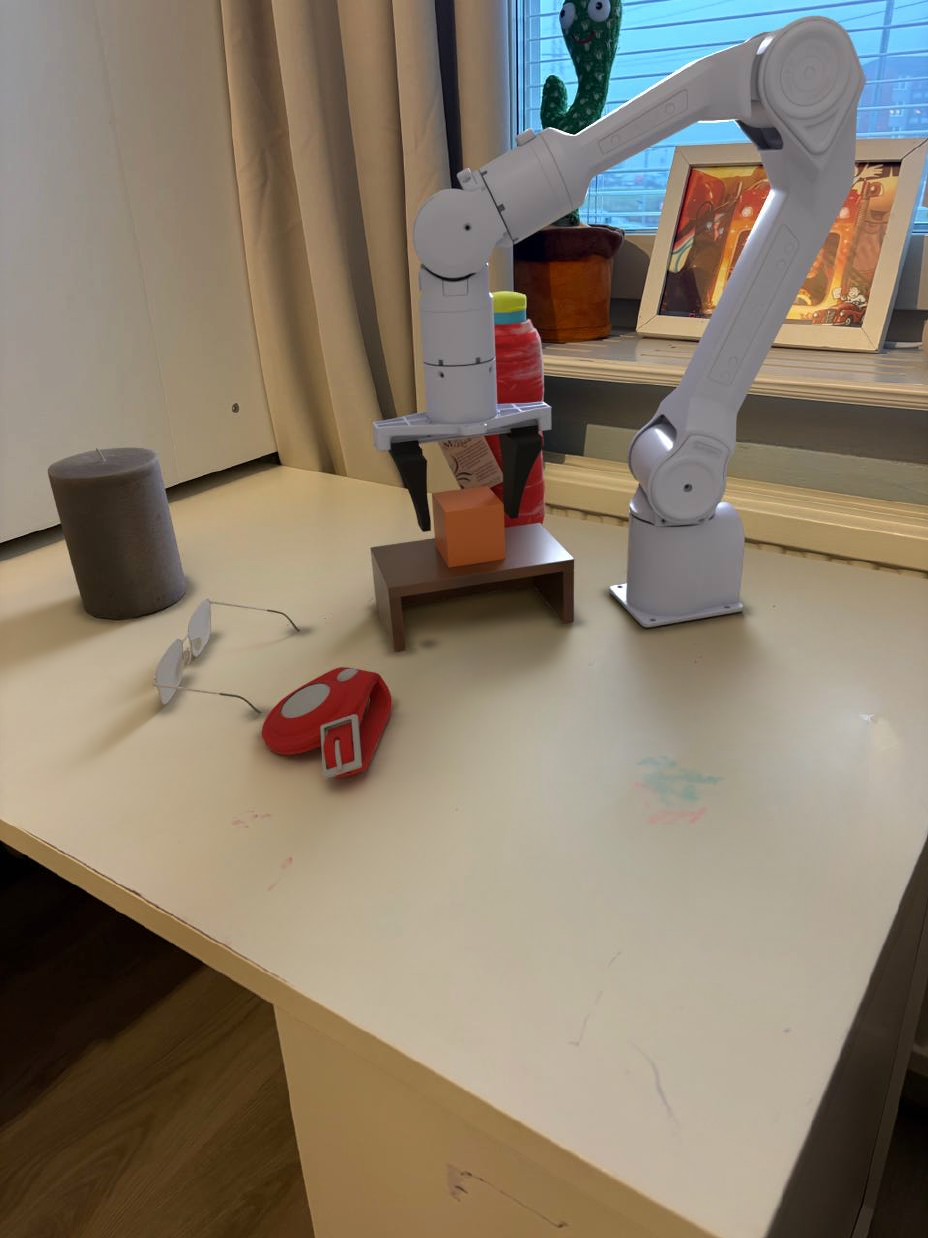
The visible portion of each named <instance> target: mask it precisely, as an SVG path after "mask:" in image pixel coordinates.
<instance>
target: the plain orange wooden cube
mask: <svg viewBox="0 0 928 1238" xmlns="http://www.w3.org/2000/svg"><path fill="white" fill-rule="evenodd" d="M431 503H432V504H431V505H432V517H433V531H434V533H433V535H434V538H435V546H436V548H437V550H438V551H439V553H440V555H441V556H442V558H443V559H444V561H445V563H446V564H447V566H448V568H451V567H458V566H464V565H471V564H477V563H484V562H491V561H497V560H504V559H505V534H504V504H503V503H502V502H501V501H500V500H499V499H498V497H497V496H496V495H495V494H494V493H493V492H492V491H491V490H490V488H489V487H488V486H481V487H474V488H466V489H453V490H444V491H437V492H436V491H435V492H431Z"/></svg>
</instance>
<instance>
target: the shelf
mask: <svg viewBox="0 0 928 1238" xmlns="http://www.w3.org/2000/svg"><path fill="white" fill-rule="evenodd" d="M504 534H505V559H504V560H497V561H491V562H484V563H477V564H471V565H464V566H458V567H451V568H448V566H447V564H446V563H445V561H444V559H443V558H442V556H441V555H440V553H439V551H438V550H437V548H436V546H435V537H434V538H433V537H432V538H426V539H419V540H411V541H405V542H397V543H391V544H385V545H384V544H383V545H377V546H371V547H370V550H369V551H370V558H371V569H372V576H373V577H372V578H373V585H374V586H373V587H374V595H375V604H376V609H377V612H378V615H379V617H380V619H381V622H382V624H383V627H384V629H385V633H386V634H387V637H388V640H389V642H390V644H391V647H392V650H393V652H394V653H398V652H404V651H406V650H407V646H406V638H405V626H404V625H405V624H404V616H403V615H404V614H403V607H408V606H414V605H420V604H421V605H422V604H426V603H434V602H439V601H445V600H446V601H447V600H452V599H459V598H466V597H471V596H477V595H484V594H489V593H490V594H491V593H496V592H503V591H510V590H514V589H515V590H516V589H521V588H526V587H527V588H528V587H534V588H535V589H536V591H537V592H538V593H539V595H540V596H541V597H542V598H543V599H544V601H545V602H546V603H547V604H548V606H549V607H550V608H551V610H552V612H554V613H555V614H556V616H557V617H558V618H559V620H560V621H561V623H563V624H567V623H568V624H569V623H573V622H574V621H575V618H574V617H575V558H574V557H573V556H572V555H571V554H570V553H569V552H568V551H567V550H566V548H565V547H564V546H562V544H561V543H560V542H559V541H558V540H557V539H556V538H555V537H554V536H553V535H552V534H551V533H550V532H549V531H548V529H546V528H545V526H544V525H543V524H542V525H541V523H536V524H529V525H522V526H515V527H508V528H504Z"/></svg>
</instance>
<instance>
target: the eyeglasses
mask: <svg viewBox="0 0 928 1238" xmlns="http://www.w3.org/2000/svg"><path fill="white" fill-rule="evenodd" d="M211 605H221V606H229V607H236V608H243V609H250V610H258V611H265V612H268V613H275V614H280V615H282V616H284V617H285V619H287V620H288V621H289V623H290V624H291V626H292V627H293V628H294V630H295V631H296V632H297V633H299V632H301V630H300V628H298V626H297V625H296V624H295V623H294V621H293V620H292V619H291V618H290V617H289V615H287V614H286V613H284V612H282V611H278V610H273V609H265V608H259V607H253V606H245V605H240V604H234V603H229V602H221V601H213V600H210V599H209V598H205V599H204V600H203V601H202V602H201V603H200V604H199V605H198V606H197V608H196V609H195V610H194V612H193V614H192V615H191V616H190V619H189V622H188V626H187V634H186V635H185V636H184V638H183V639H181V638H177V639H175V640H174V641H173V642H172V643H171V644H170V645H169V646H168V648H167V649H166V651H165V652H164V654H163V655H162V657H161V659H160V661H159V662H158V664H157V666H156V670H155V678H154V679H153V680H152V685H153V687H156V689H157V692H158V696H159V700H160V702H161V704H162V705H167V704H168V703H169V702H170V700H171V699H172V698H173V696H174V695H175V693H176V691H177V690H180V691H186V692H195V693H203V694H211V695H217V696H223V697H224V696H225V697H229V698H231V697H232V698H237V699H240V700H242V701H244V702H245V703H246V704H247V705H248V706H249V707H250V708H252V710H254V711H255V712H256V714H259V715H260V714H262V712H261V711H260V710H258V708H256V707H255V705H253V704H252V703H251V702H250V701H249V700H247V698H245V697H243V696H241V695H237V694H232V693H224V692H215V691H208V690H202V689H197V688H189V687H183V686H180V684H181V681H182V678H183V674H184V660H185V658H186V665H187V666H189V665H191V661H192V655H193V656H194V657H195V658H196V657H198V656H199V655H201V653H202V652H203V651H204V649H205V647H206V645H207V644H208V641H209V640H210V637H211V632H212V609H211ZM187 638H188V643H189V648H187V649H186V650H184V643H185V642H186V640H187Z"/></svg>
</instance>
